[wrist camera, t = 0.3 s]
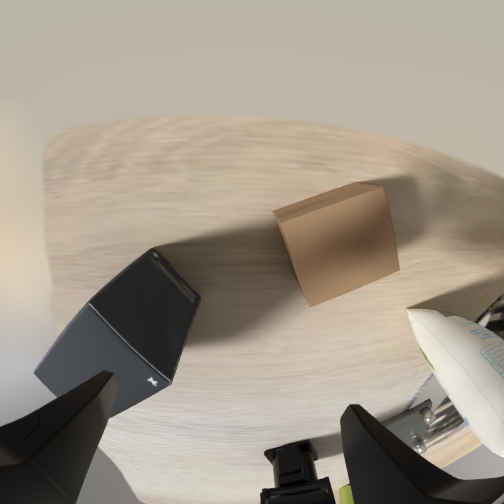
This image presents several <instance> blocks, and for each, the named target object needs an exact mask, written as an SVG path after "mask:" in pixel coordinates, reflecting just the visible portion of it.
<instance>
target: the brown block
mask: <svg viewBox="0 0 504 504" xmlns="http://www.w3.org/2000/svg"><path fill="white" fill-rule="evenodd" d="M273 214H274V216H275V219H276V222H277V225H278V227H279V230H280V233H281V236H282V239H283V241H284V244H285V247H286V250H287V253H288V256H289V259H290V261H291V264H292V267H293V270H294V273H295V276H296V279H297V281H298V284H299V286H300V288H301V290H302V292H303V294H304V296H305V299H306V301H307V303H308V305H309V307H312V306H315V305H317V304H320V303H323V302H325V301H328V300H330V299H333V298H335V297H338V296H340V295H343V294H345V293H348V292H350V291H353V290H355V289H357V288H360V287H362V286H364V285H367V284H369V283H371V282H374V281H376V280H378V279H381V278H383V277H385V276H387V275H390V274H392V273H394V272H396V271H398V270H400V268H399V261H398V255H397V249H396V243H395V238H394V233H393V227H392V223H391V218H390V213H389V209H388V205H387V200H386V196H385V192H384V189H383V187H382V186H375V185H369V184H361V183H352V184H349V185H346V186H343V187H340V188H337V189H334V190H331V191H328V192H325V193H322V194H319V195H317V196H314V197H311V198H308V199H305V200H302V201H300V202H297V203H294V204H291V205H288V206H286V207H283V208H280V209H277V210H275V211H273Z"/></svg>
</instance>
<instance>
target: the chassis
mask: <svg viewBox="0 0 504 504" xmlns="http://www.w3.org/2000/svg"><path fill="white" fill-rule="evenodd" d="M431 407H432V402H431V400H430V399H428V400H426V401H424V402H423V403H421V404H419V405H417V406H415V407H413V408H411V409H410V410H408V411H406V412H404V413H402V414H400V415H398V416H396V417H394V418H392V419H389V420H387V421H385V422H383V423H381V424H383V425H384V426H385V427H386V428H387V429H389V430H390V431H391V432H392V433H393V434H395V435H396V436H397V437H398V438H399V439H401V440H402V441H403V442H404V443H406V444H407V445H408V446H409V447H411V448H413V447H416V449H417V451H418V453H419V454H422V453H424V452H425V451H426V450H427V448H426V446H425V445H424V443H423V441H424V438H425V434H426V430H427V425H430V424H432V423H433V422H434V421H435V420H436V417H435V416H434V414H433V413H432V411H431Z"/></svg>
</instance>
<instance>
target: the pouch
mask: <svg viewBox="0 0 504 504" xmlns="http://www.w3.org/2000/svg"><path fill="white" fill-rule="evenodd" d="M406 310H407V313H408V317H409V320H410V324H411V327H412V330H413V333H414V335H415V338H416V340H417V343H418V345H419V347H420V349H421V351H422V353H423V355H424V357H425V359H426V360H427V362H428V364H429V366H430V368H431V370H432V372H433V373H434V375H435V377H436V379H437V380H438V382H439V383H440V385H441V386H442V388H443V390H444V391H445V393H446V394H447V396H448V397H449V399H450V400H451V402H452V403H453V405H454V406H455V408H456V409H457V411H458V412H459V414H460V415H461V416H462V418H463V419H464V421H465V422H466V423H467V425H468V426H469V428H470V429H471V430H472V431H473V433H474V434H475V435H476V436H477V437H478V438H479V439H480V440H481V441H482V442H483V443H484V444H485V445H486V446H487V447H488V448H489V449H490V450H491V451H492V452H494V453H495V454H497V455H499V456H501V457H504V340H503V339H501V338H500V337H499V336H497V335H496V334H494V333H493V332H491V331H490V330H488V329H486V328H485V327H483V326H481V325H479V324H477V323H475V322H472V321H470V320H467V319H465V318H462V317H459V316H456V315H453V314H450V313H446V312H442V311H437V310H430V309H406Z"/></svg>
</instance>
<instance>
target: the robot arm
mask: <svg viewBox="0 0 504 504" xmlns="http://www.w3.org/2000/svg"><path fill="white" fill-rule="evenodd" d="M116 392H117V385H116V379H115V374H114V373H113V372H110V371H107V370H103V371H101V372H100V373H98V374H96V375H95V376H93V377H91V378H90V379H88V380H86V381H85V382H83V383H81V384H80V385H78V386H76V387H75V388H73V389H71V390H70V391H68V392H66V393H65V394H63V395H61V396H59V397H58V398H56V399H54V400H53V401H51V402H49V403H47V404H46V405H44V406H42V407H41V408H39V409H37V410H35V411H34V412H32V413H30V414H28V415H26V416H24V417H22V418H20V419H18V420H15V421H13V422H11V423H8V424H5V425H3V426H1V427H0V504H76V502H77V499H78V496H79V493H80V490H81V488H82V485H83V482H84V479H85V477H86V474H87V471H88V469H89V466H90V464H91V461H92V459H93V456H94V454H95V451H96V449H97V447H98V444H99V442H100V439H101V437H102V435H103V432H104V430H105V428H106V425H107V422H108V419H109V415H110V412H111V409H112V405H113V402H114V399H115V395H116ZM340 425H341V435H342V445H343V453H344V458H345V462H346V467H347V472H348V477H349V482H350V487H351V492H352V497H353V502H354V504H504V476H502V477H497V478H488V479H474V480H462V479H458V478H455V477H453V476H452V475H450V474H448V473H446V472H445V471H443V470H441V469H440V468H438V467H436V466H435V465H433V464H432V463H430V462H429V461H427V460H426V459H425V458H423V457H422V456H421V455H419V454H418V453H417V452H416V451H414V450H413V449H412V448H411V447H409V446H408V445H407V444H406V443H404V442H403V441H402V440H401V439H399V438H398V437H397V436H396V435H395V434H393V433H392V432H391V431H390V430H389V429H387V428H386V427H385V426H384V425H383V424H381V423H380V422H379V421H378V420H377V419H375V418H374V417H373V416H372V415H371V414H370V413H368V412H367V411H366V410H365V409H364V408H363V407H362V406H360V405H359V404H350V405H349V406H348V407H347V408H346V410H345V411H344V413H343V415H342V416H341V419H340ZM264 455H265V456H266V458H267V459H268V460H269V461H270V462H271V464H272V465H273V471H274V482H275V488H269V489H267V488H264V489H262V493H260V499H261V503H260V504H336V503H335V499H334V495H333V491H332V488H331V484H330V480H329V477H324V478H323V479H319V480H318V477H317V473H316V468H315V463H314V461H316V460H318V456H317V454H316V452H315V450H314V448H313V446H312V444H311V442H310V441H304V442H300V443H296V444H293V445H289V446H285V447H281V448H276V449H272V450H267V451H265V452H264Z"/></svg>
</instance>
